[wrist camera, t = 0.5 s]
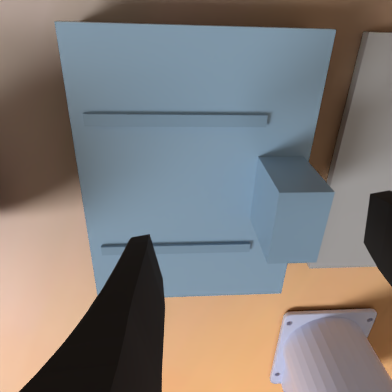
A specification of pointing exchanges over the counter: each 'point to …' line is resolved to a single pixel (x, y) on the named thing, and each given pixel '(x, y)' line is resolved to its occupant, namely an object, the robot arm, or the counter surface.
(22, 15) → the counter surface
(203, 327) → the counter surface
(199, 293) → the lid
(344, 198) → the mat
